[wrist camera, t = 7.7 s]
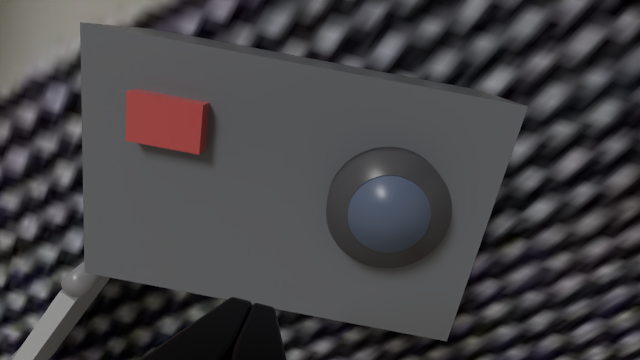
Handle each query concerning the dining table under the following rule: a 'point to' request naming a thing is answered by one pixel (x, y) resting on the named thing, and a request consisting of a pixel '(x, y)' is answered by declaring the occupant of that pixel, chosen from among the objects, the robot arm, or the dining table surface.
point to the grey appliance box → (286, 178)
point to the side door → (61, 314)
